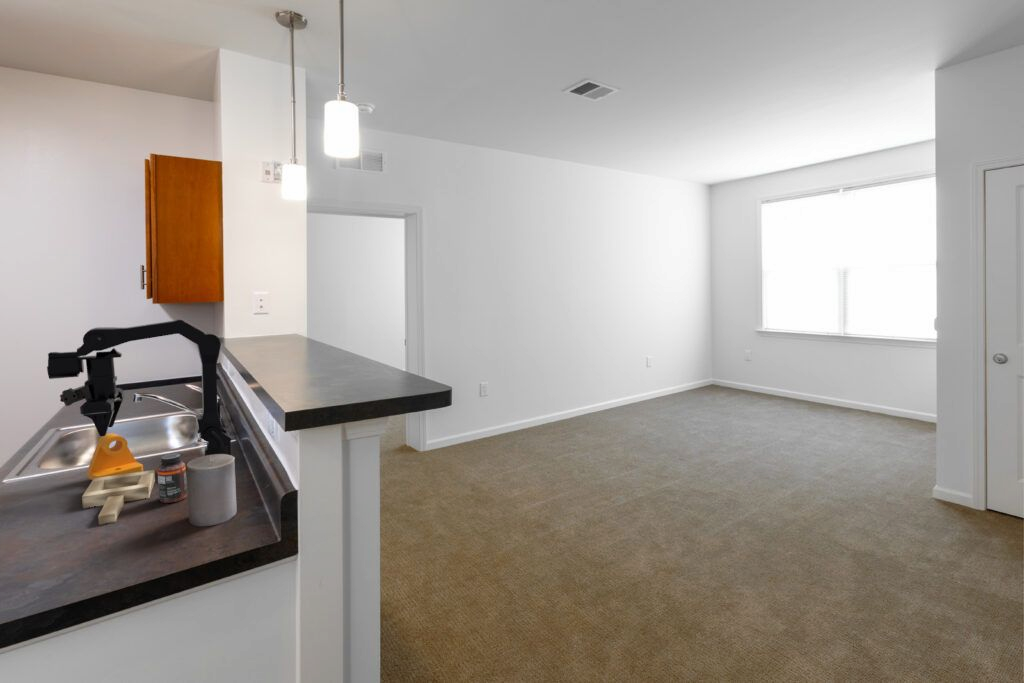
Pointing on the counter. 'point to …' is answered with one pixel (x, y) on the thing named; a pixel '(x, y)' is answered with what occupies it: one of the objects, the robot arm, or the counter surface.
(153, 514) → the counter surface
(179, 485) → the supplement bottle
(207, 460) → the pillar candle
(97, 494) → the wooden frame with handle
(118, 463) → the bracket
